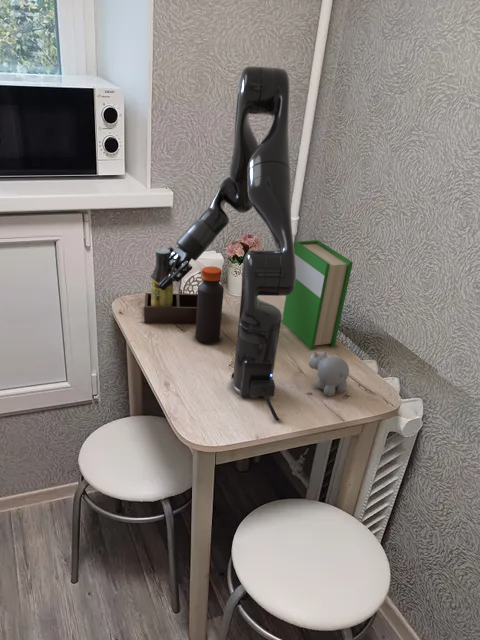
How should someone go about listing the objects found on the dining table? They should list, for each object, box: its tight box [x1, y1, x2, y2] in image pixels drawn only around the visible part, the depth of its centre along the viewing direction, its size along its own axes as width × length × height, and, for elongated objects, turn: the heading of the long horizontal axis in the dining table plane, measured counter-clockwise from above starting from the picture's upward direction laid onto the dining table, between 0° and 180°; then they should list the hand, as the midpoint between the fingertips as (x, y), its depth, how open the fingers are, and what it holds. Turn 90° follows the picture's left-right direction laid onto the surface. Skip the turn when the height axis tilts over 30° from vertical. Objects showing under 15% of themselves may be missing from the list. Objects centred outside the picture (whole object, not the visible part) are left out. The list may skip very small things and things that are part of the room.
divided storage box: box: [143, 292, 198, 325], centre depth 154 cm, size 10×19×5 cm, turn 92°
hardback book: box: [281, 239, 354, 350], centre depth 143 cm, size 18×7×24 cm, turn 18°
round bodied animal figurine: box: [308, 349, 350, 397], centre depth 125 cm, size 7×12×8 cm, turn 24°
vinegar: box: [194, 265, 225, 345], centre depth 139 cm, size 7×7×20 cm
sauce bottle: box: [150, 248, 174, 307], centre depth 150 cm, size 6×6×20 cm
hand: (156, 283), depth 149 cm, fingers closed on sauce bottle, 6 cm apart
